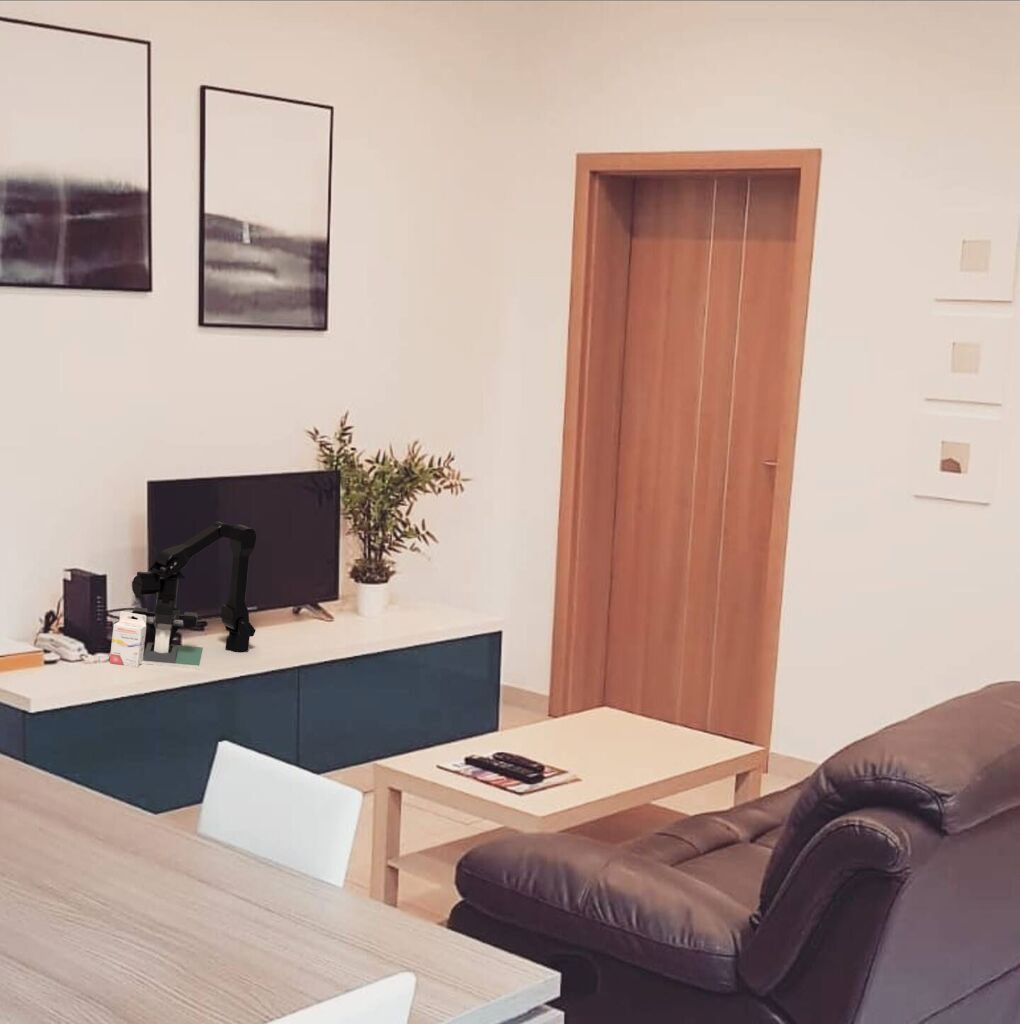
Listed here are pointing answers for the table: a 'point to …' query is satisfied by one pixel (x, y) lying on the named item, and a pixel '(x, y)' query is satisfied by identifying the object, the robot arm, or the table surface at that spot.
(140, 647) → the ink cartridge box
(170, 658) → the board
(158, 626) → the plug
